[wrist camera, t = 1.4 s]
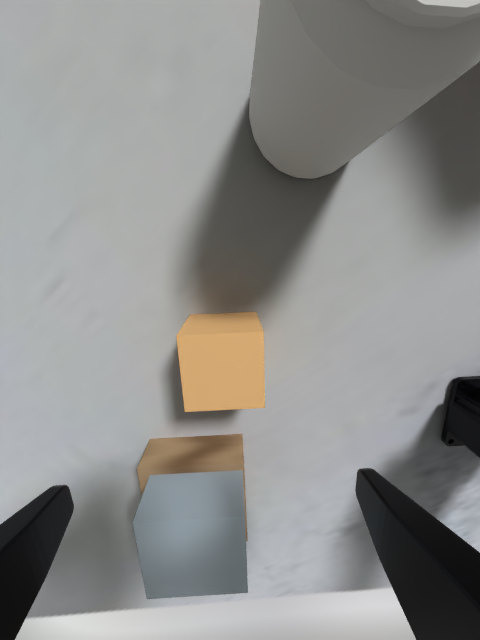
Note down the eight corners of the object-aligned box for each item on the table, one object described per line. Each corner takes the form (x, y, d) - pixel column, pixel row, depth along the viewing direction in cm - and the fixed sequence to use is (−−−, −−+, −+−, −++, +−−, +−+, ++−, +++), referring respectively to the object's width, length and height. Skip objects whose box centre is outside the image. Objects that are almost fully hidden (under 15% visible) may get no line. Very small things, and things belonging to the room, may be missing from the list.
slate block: (242, 470, 19) (245, 516, 16) (245, 538, 21) (247, 592, 18) (149, 474, 19) (132, 522, 16) (160, 543, 21) (146, 598, 18)
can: (275, 202, 17) (360, 108, 6) (227, 80, 16) (214, -415, 4) (380, 150, 17) (709, -69, 5) (344, 17, 15) (734, -794, 3)
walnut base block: (242, 431, 23) (243, 462, 19) (245, 501, 25) (247, 541, 21) (151, 436, 22) (136, 469, 19) (162, 506, 25) (151, 547, 21)
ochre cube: (255, 311, 20) (263, 331, 15) (257, 371, 21) (265, 407, 16) (190, 314, 19) (176, 335, 15) (195, 374, 21) (184, 411, 16)
